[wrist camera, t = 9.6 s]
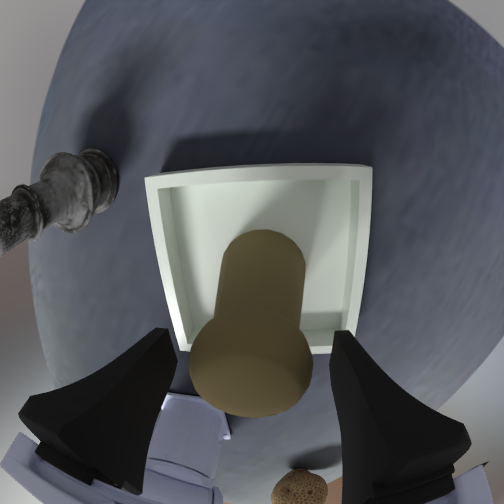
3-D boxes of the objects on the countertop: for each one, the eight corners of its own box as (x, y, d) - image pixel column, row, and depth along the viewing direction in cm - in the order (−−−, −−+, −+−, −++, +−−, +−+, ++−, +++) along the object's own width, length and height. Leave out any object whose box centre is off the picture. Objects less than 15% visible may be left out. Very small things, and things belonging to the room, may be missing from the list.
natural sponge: (278, 457, 32) (275, 512, 22) (334, 458, 31) (338, 510, 22) (269, 474, 35) (265, 520, 26) (317, 475, 35) (318, 519, 26)
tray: (346, 332, 21) (351, 351, 19) (188, 332, 23) (180, 350, 20) (360, 163, 16) (372, 167, 14) (159, 173, 18) (144, 177, 15)
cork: (310, 298, 20) (329, 427, 10) (233, 310, 21) (200, 433, 11) (298, 221, 18) (321, 327, 8) (211, 238, 19) (142, 344, 9)
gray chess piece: (127, 213, 19) (14, 305, 8) (75, 218, 20) (-26, 293, 9) (114, 137, 16) (-27, 179, 6) (62, 153, 17) (-56, 201, 6)
